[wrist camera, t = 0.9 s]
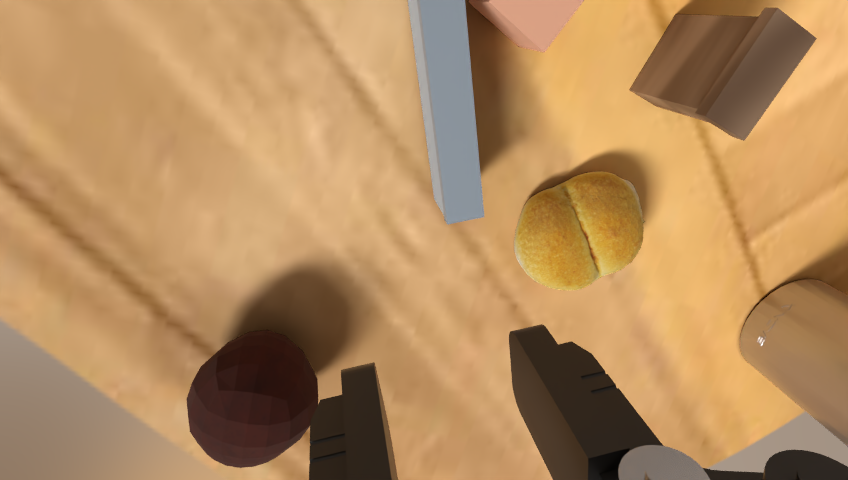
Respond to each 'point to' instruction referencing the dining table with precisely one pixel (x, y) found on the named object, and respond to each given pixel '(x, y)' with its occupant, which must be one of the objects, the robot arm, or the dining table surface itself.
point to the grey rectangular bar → (448, 105)
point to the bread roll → (579, 231)
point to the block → (528, 19)
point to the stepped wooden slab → (723, 67)
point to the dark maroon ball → (252, 399)
